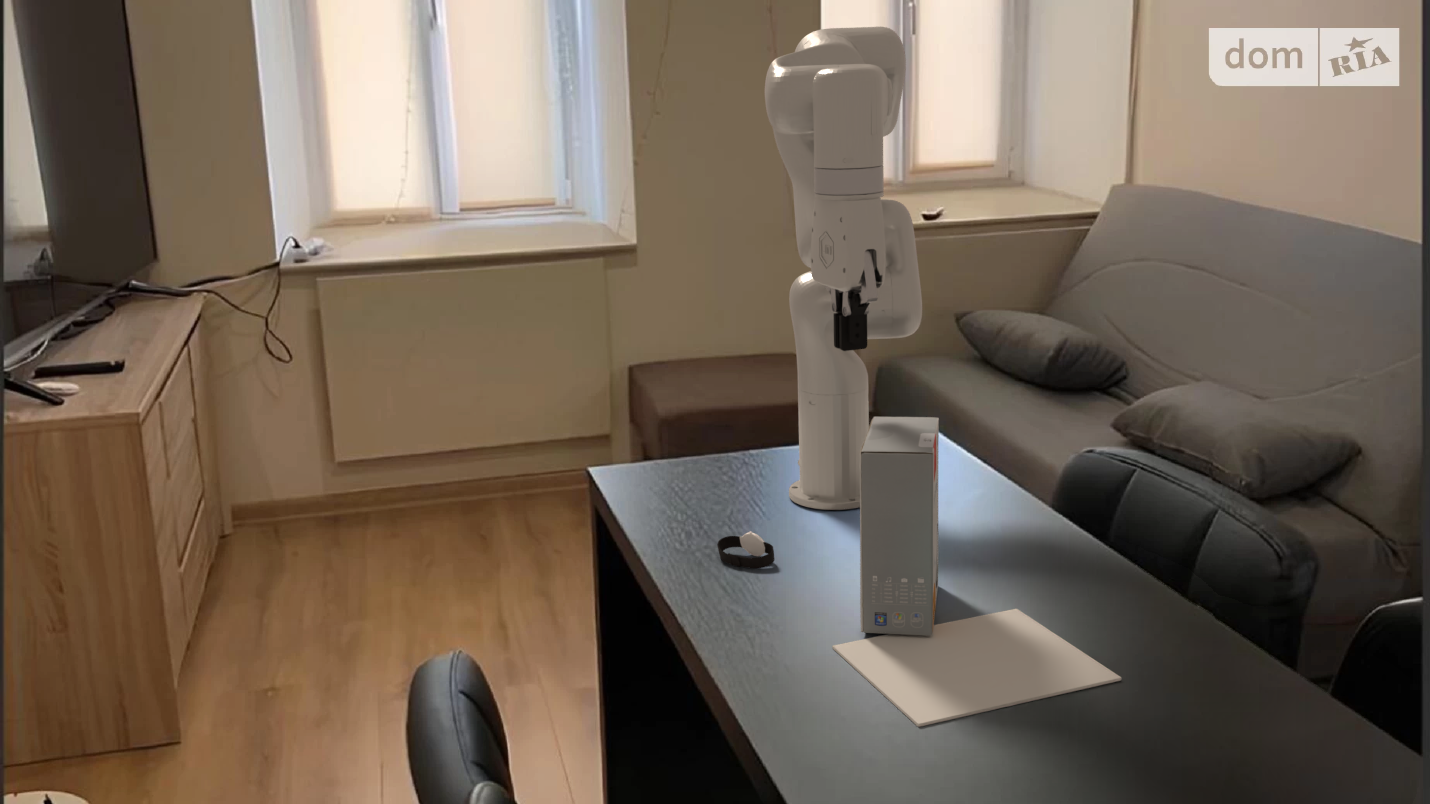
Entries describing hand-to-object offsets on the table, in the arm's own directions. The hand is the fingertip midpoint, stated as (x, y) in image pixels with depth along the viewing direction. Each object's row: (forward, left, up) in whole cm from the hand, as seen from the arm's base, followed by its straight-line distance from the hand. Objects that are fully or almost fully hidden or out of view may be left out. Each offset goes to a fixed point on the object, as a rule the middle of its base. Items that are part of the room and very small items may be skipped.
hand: (850, 347), depth 148 cm
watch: (-9, -10, -28) cm, 31 cm away
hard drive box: (+12, 0, -27) cm, 30 cm away
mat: (+27, 0, -27) cm, 38 cm away
